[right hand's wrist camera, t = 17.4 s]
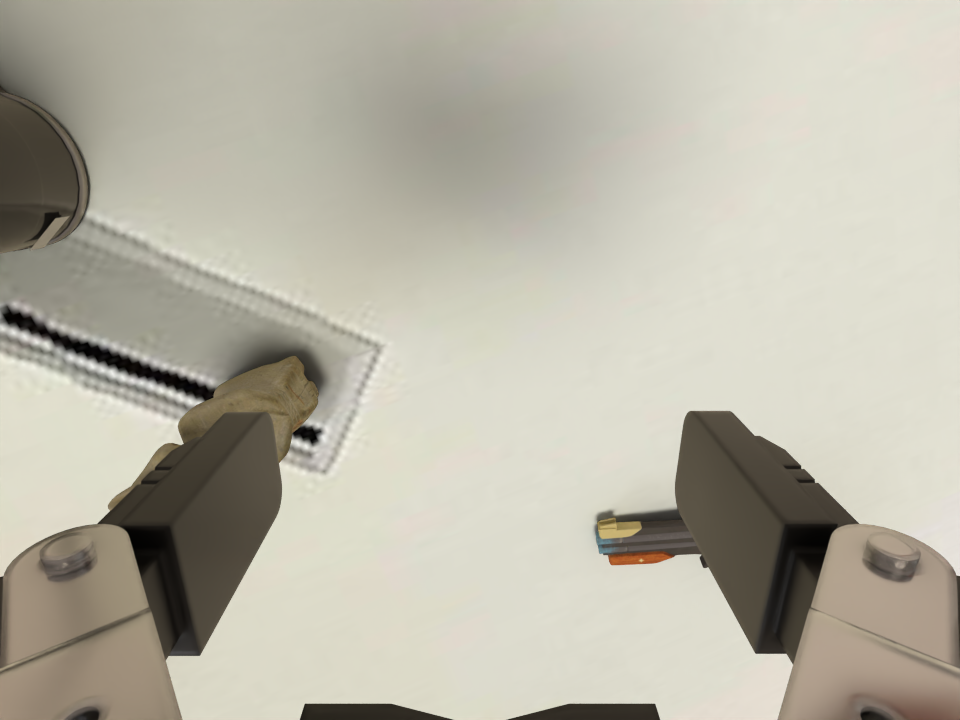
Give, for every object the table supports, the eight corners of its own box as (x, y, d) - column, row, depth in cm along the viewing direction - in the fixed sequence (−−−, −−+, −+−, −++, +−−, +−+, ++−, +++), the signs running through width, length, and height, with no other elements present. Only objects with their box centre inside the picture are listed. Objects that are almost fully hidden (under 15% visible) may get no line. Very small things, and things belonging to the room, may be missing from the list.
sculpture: (213, 370, 41) (70, 486, 27) (302, 334, 40) (202, 435, 26) (254, 437, 43) (140, 578, 29) (340, 404, 42) (265, 534, 28)
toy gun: (849, 609, 45) (867, 513, 40) (605, 623, 47) (596, 534, 43) (832, 581, 47) (848, 488, 43) (601, 596, 50) (592, 509, 45)
